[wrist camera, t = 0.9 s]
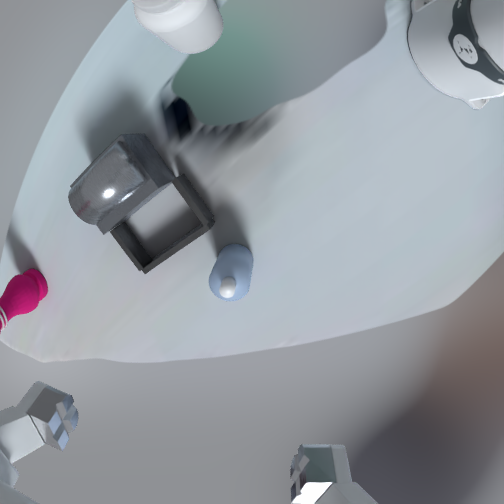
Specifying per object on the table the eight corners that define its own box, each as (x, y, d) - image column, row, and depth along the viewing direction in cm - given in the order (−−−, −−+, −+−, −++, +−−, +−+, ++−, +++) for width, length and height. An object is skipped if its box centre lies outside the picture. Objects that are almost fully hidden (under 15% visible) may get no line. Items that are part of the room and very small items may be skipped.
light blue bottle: (239, 237, 42) (231, 263, 34) (260, 265, 44) (257, 297, 35) (211, 255, 44) (196, 284, 35) (231, 282, 45) (222, 316, 37)
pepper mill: (39, 262, 46) (-33, 316, 28) (55, 296, 49) (-9, 357, 30) (19, 270, 48) (-47, 320, 29) (35, 301, 50) (-25, 358, 31)
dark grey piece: (151, 127, 37) (116, 127, 28) (217, 220, 42) (201, 245, 32) (91, 182, 41) (51, 197, 31) (151, 265, 45) (124, 298, 36)
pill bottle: (165, 59, 34) (114, 28, 20) (167, 10, 31) (122, -35, 17) (224, 52, 33) (197, 11, 19) (224, 3, 30) (201, -53, 16)
